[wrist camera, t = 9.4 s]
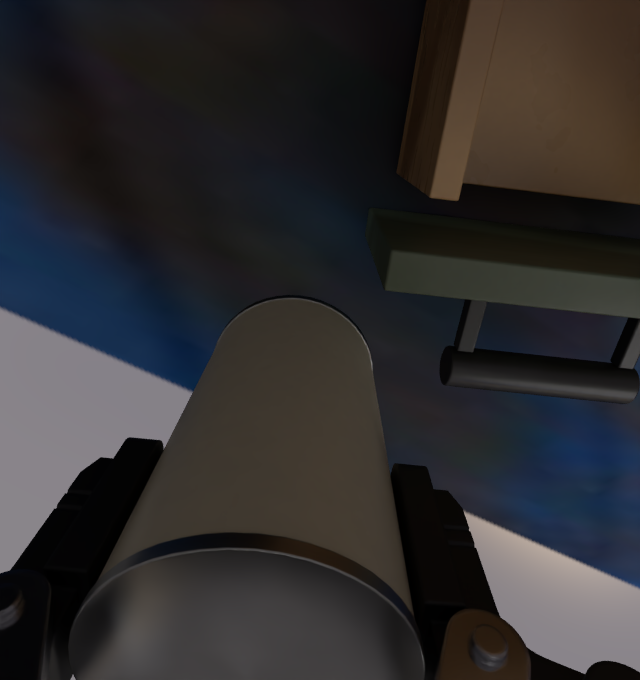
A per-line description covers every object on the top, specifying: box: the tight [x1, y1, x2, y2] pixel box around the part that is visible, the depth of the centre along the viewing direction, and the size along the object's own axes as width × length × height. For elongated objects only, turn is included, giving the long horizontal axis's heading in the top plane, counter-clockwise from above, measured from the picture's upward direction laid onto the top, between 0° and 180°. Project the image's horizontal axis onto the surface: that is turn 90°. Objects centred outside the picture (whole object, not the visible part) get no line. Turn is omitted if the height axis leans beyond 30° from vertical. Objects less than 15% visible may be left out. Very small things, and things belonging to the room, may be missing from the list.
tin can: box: [68, 295, 425, 680], centre depth 12 cm, size 6×6×10 cm
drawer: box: [365, 0, 640, 404], centre depth 15 cm, size 17×14×7 cm
